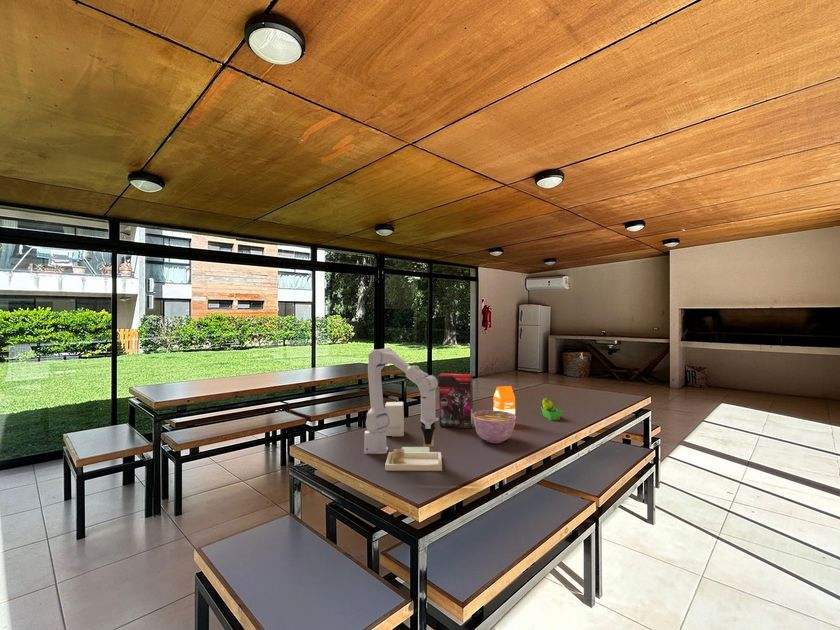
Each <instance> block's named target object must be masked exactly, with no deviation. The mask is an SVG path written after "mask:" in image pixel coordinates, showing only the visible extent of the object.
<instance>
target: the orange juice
mask: <svg viewBox="0 0 840 630" xmlns="http://www.w3.org/2000/svg"><path fill="white" fill-rule="evenodd" d="M492 408H493V410H494V411H504V412H509V413H512V414H514V415H515V416H516V396H515V393H514V390H513V388H512V385H504V386H496V389H495V391H494V394H493V407H492Z"/></svg>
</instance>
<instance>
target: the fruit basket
mask: <svg viewBox="0 0 840 630" xmlns="http://www.w3.org/2000/svg"><path fill="white" fill-rule="evenodd" d="M541 402H542V406H540V409H541V411H542V415H543V417H544V418H546V419H548V420H549V421H560V418H561V414H562V413H563V412H562V411H563V410H560V409H558V407H557V408H556V407H554V406H553V405H554V403H553V402H552V401H551V400H549V399H548V398H545V397H544V398H543V400H542V401H541Z"/></svg>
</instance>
